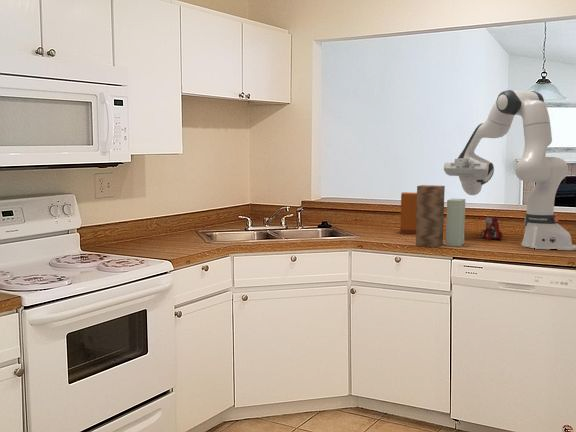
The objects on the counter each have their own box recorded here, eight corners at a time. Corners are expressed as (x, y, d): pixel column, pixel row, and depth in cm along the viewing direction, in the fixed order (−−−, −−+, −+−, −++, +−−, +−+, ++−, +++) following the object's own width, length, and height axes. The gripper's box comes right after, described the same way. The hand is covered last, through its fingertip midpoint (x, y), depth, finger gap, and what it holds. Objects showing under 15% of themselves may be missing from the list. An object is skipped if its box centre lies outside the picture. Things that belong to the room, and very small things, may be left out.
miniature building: (419, 234, 335) (420, 194, 333) (400, 234, 337) (401, 193, 335) (419, 232, 345) (420, 192, 343) (401, 231, 347) (402, 192, 344)
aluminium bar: (469, 164, 317) (469, 158, 317) (461, 165, 299) (461, 158, 299) (463, 164, 319) (463, 158, 318) (454, 165, 301) (454, 158, 300)
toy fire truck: (489, 241, 315) (490, 218, 314) (479, 237, 327) (480, 215, 326) (504, 241, 316) (505, 218, 314) (493, 237, 328) (494, 215, 327)
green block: (463, 243, 306) (465, 199, 304) (459, 246, 297) (461, 200, 295) (450, 242, 309) (451, 198, 307) (445, 245, 300) (447, 200, 298)
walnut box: (442, 244, 304) (444, 185, 301) (438, 246, 296) (440, 186, 293) (420, 242, 308) (422, 185, 305) (415, 245, 300) (417, 186, 297)
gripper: (447, 168, 329) (441, 154, 317) (490, 169, 320) (487, 154, 309) (445, 180, 327) (440, 166, 315) (489, 181, 318) (485, 167, 306)
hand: (463, 160), depth 312 cm, fingers closed on aluminium bar, 3 cm apart
